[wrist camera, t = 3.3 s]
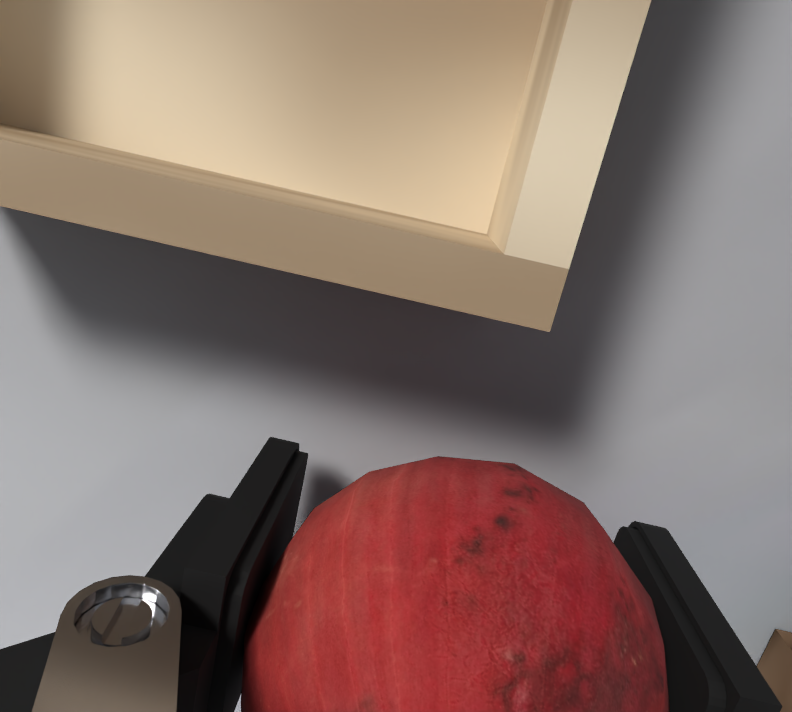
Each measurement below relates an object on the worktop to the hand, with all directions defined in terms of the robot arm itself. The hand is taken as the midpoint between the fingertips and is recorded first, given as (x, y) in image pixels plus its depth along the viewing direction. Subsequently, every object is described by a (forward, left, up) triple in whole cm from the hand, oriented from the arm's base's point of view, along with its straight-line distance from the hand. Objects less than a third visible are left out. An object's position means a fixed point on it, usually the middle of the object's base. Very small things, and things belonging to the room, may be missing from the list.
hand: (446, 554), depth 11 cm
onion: (0, 0, -1) cm, 1 cm away
